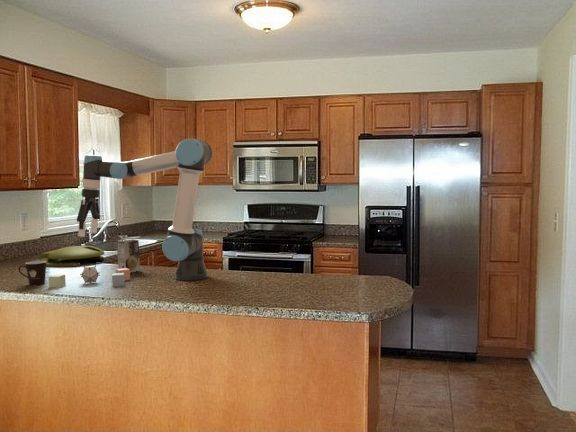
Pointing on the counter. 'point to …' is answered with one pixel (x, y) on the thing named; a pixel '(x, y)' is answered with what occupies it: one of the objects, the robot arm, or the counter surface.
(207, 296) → the counter surface
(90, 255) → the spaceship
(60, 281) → the sage cube
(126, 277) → the terracotta cube
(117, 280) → the slate cube
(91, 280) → the game die
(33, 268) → the coffee mug
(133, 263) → the coffee box
